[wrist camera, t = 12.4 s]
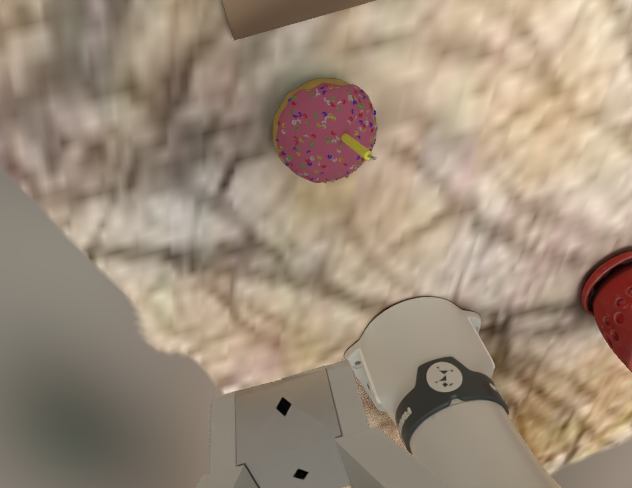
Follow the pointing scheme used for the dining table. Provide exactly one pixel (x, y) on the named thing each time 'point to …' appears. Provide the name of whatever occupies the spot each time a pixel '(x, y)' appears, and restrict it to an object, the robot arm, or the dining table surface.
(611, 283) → the plant pot
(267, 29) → the guide board
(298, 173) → the cupcake
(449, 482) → the robot arm
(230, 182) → the dining table surface
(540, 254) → the dining table surface
